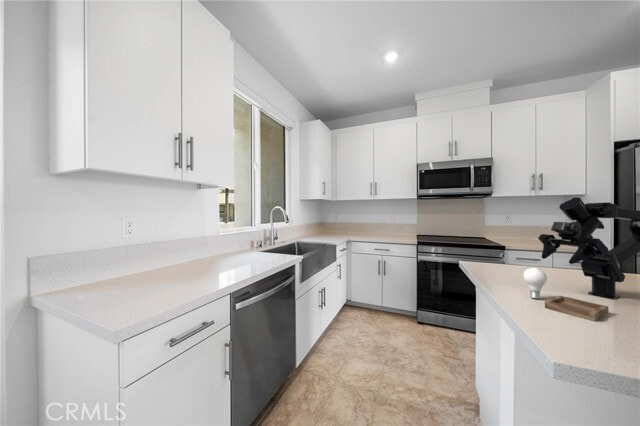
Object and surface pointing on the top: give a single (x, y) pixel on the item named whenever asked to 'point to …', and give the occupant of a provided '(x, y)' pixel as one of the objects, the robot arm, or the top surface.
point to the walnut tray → (577, 308)
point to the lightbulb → (535, 281)
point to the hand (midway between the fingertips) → (555, 260)
